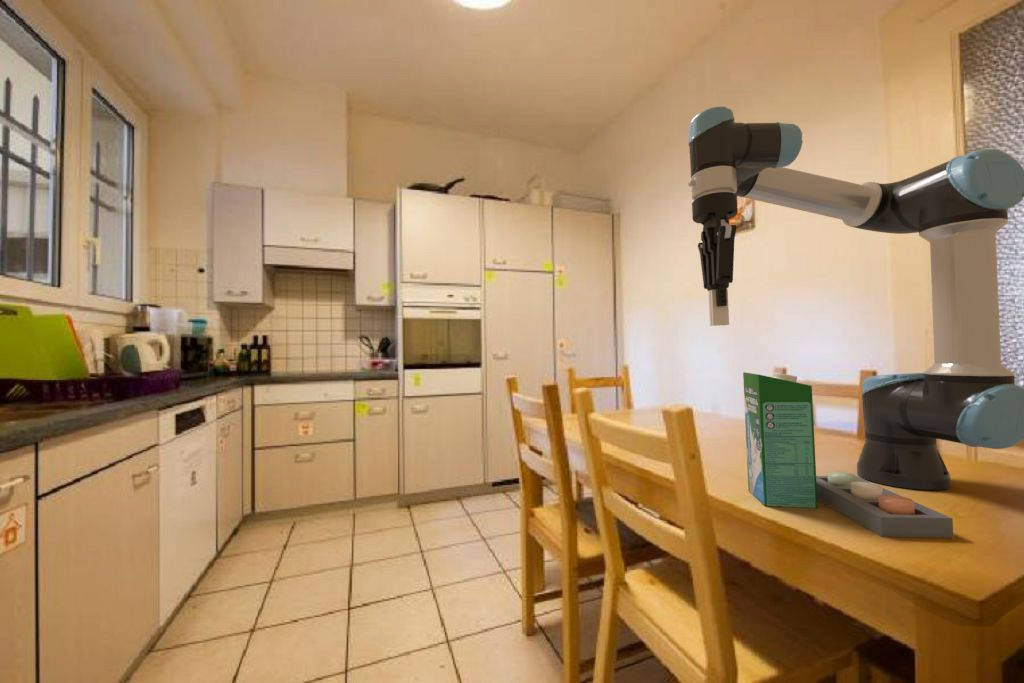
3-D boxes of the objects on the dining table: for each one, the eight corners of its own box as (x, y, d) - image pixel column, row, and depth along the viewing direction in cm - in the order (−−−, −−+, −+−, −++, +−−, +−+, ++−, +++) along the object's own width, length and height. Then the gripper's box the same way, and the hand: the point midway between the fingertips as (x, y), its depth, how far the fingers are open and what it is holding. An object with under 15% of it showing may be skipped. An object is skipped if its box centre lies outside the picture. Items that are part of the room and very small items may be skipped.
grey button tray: (803, 490, 88) (803, 475, 88) (856, 490, 87) (855, 476, 87) (881, 536, 66) (880, 517, 67) (953, 538, 65) (952, 518, 65)
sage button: (846, 485, 86) (846, 471, 86) (861, 492, 81) (861, 477, 81) (823, 485, 86) (822, 471, 86) (836, 492, 82) (836, 477, 82)
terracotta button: (901, 511, 72) (900, 494, 72) (922, 522, 67) (921, 503, 67) (872, 511, 72) (871, 494, 72) (892, 521, 68) (891, 503, 68)
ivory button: (871, 497, 79) (870, 481, 79) (889, 506, 74) (888, 489, 74) (845, 497, 79) (845, 481, 79) (862, 505, 75) (861, 489, 75)
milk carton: (818, 508, 79) (811, 373, 79) (764, 506, 80) (758, 374, 81) (796, 492, 87) (790, 370, 88) (748, 490, 89) (742, 371, 90)
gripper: (682, 210, 85) (687, 327, 85) (704, 185, 72) (710, 323, 72) (722, 208, 85) (727, 326, 84) (751, 181, 71) (757, 322, 71)
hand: (719, 325), depth 78 cm, fingers closed
